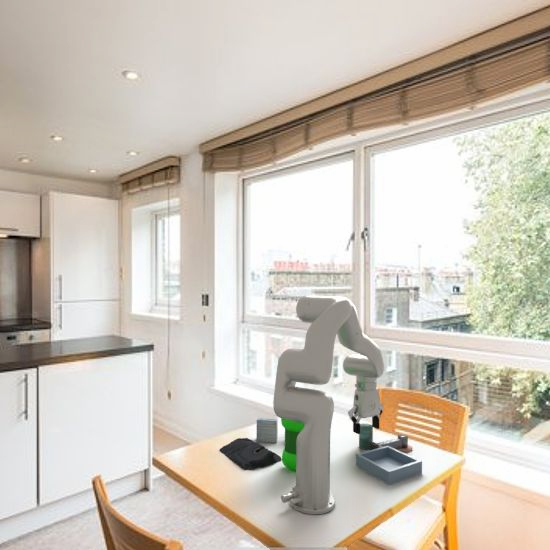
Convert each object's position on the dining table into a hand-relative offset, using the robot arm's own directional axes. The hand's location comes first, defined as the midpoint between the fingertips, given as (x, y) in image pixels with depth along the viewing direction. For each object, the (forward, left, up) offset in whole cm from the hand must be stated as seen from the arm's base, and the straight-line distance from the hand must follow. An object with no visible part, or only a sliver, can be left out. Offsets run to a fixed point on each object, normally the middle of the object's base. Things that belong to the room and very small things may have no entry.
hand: (366, 430), depth 160 cm
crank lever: (+4, -8, -5) cm, 11 cm away
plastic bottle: (-33, -2, -6) cm, 34 cm away
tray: (-7, -18, -6) cm, 21 cm away
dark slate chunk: (-42, +15, -7) cm, 45 cm away
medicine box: (-29, +24, -6) cm, 38 cm away
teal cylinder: (0, 0, -6) cm, 6 cm away
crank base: (+11, -8, -6) cm, 15 cm away
